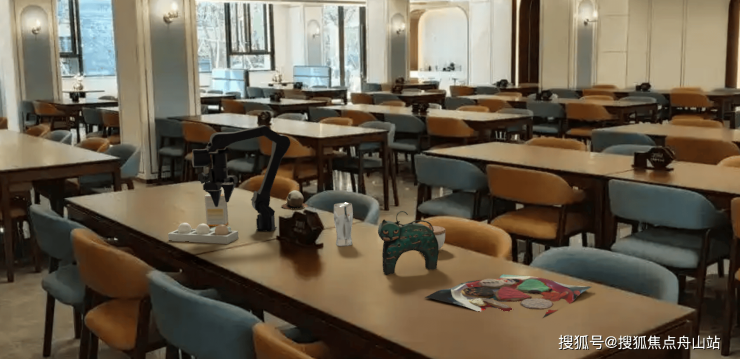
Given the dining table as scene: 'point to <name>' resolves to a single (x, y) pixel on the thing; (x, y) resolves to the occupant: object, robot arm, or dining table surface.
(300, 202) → the skull
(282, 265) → the dining table surface
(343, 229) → the beer glass
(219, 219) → the supplement box
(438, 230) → the lidded jar
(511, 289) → the platter
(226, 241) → the carton
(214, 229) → the egg stand
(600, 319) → the dining table surface
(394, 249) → the ceramic cat
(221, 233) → the brown egg
